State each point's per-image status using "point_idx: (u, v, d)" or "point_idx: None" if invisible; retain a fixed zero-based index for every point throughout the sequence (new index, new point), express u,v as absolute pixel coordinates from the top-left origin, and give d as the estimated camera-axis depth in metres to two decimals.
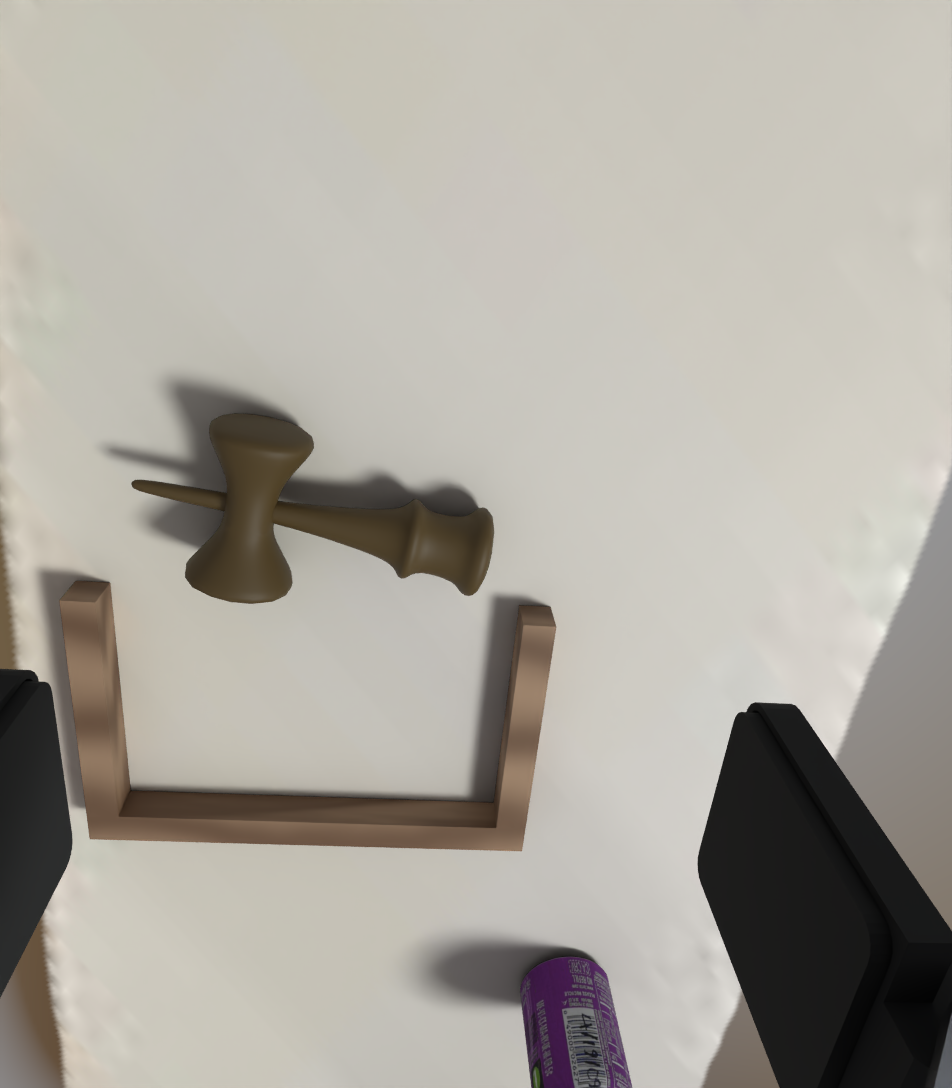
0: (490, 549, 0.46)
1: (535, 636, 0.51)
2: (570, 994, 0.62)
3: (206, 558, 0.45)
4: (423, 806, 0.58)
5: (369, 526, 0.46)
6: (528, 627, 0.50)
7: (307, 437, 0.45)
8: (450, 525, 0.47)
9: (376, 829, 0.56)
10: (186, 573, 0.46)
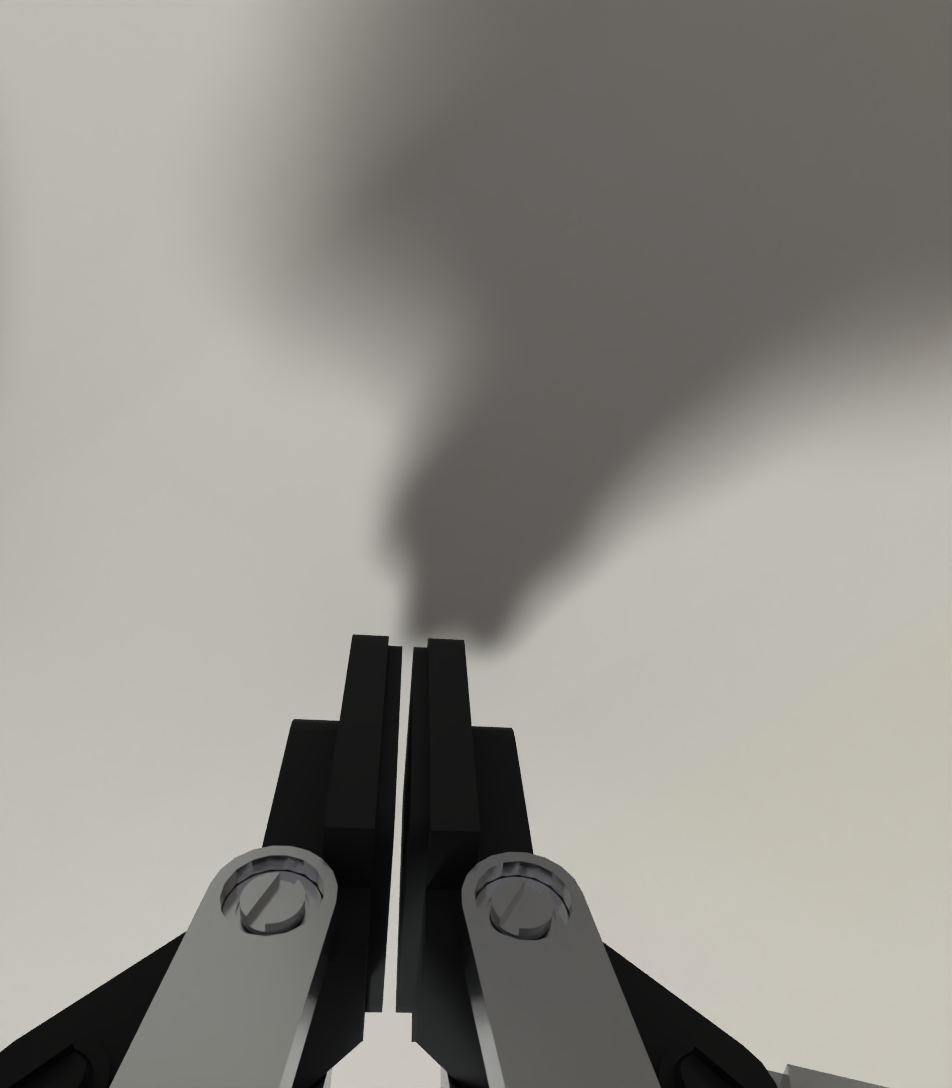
0: None
1: None
2: None
3: None
4: None
5: None
6: None
7: None
8: None
9: None
10: None
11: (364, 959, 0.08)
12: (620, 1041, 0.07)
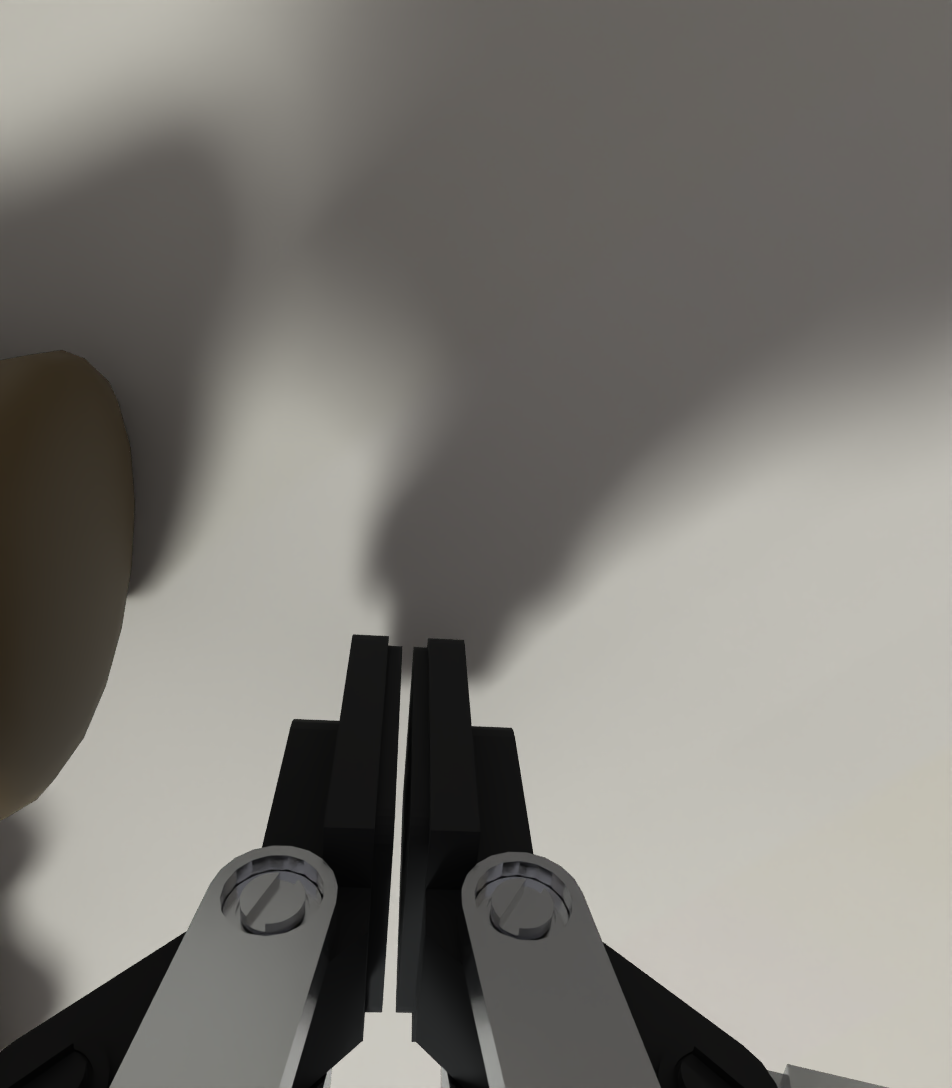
0: None
1: None
2: None
3: None
4: None
5: None
6: None
7: (87, 727, 0.11)
8: None
9: None
10: None
11: (364, 959, 0.08)
12: (620, 1041, 0.07)
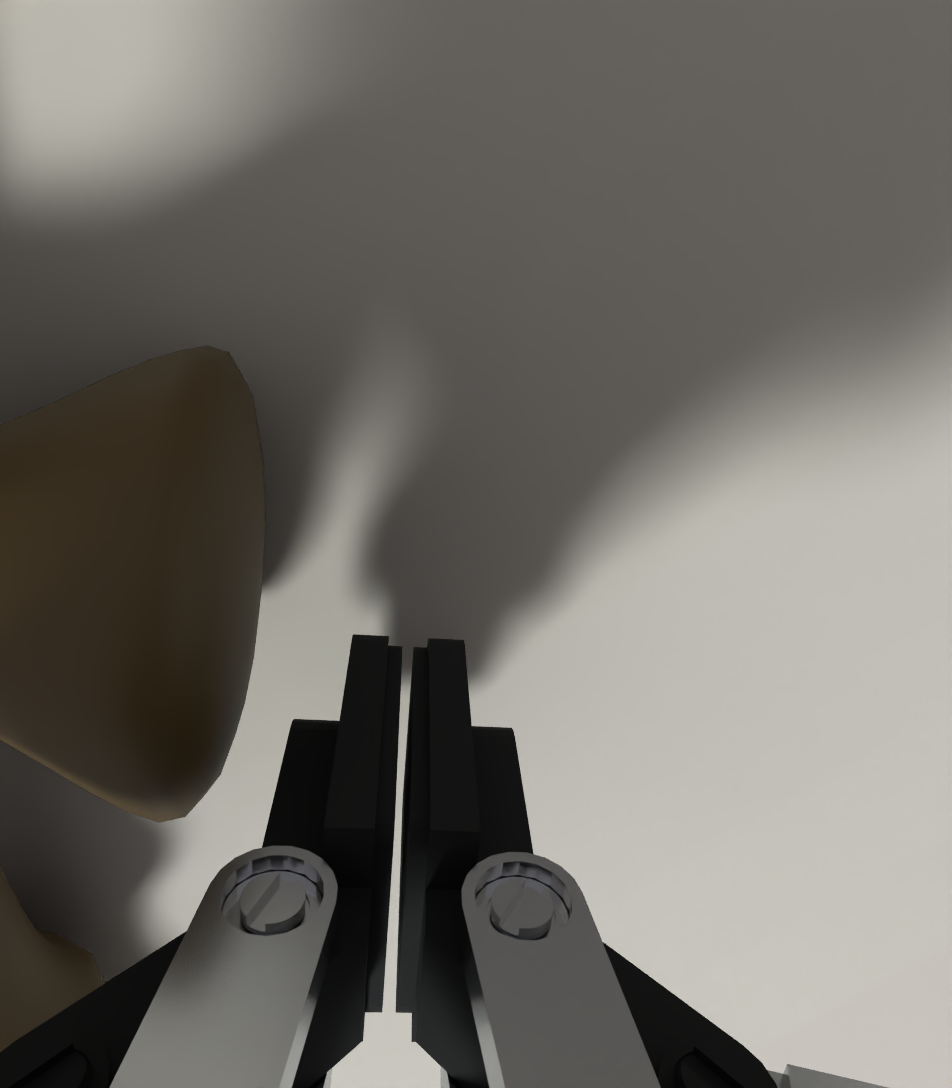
0: None
1: None
2: None
3: None
4: None
5: None
6: None
7: (237, 723, 0.11)
8: None
9: None
10: None
11: (364, 959, 0.08)
12: (620, 1041, 0.07)
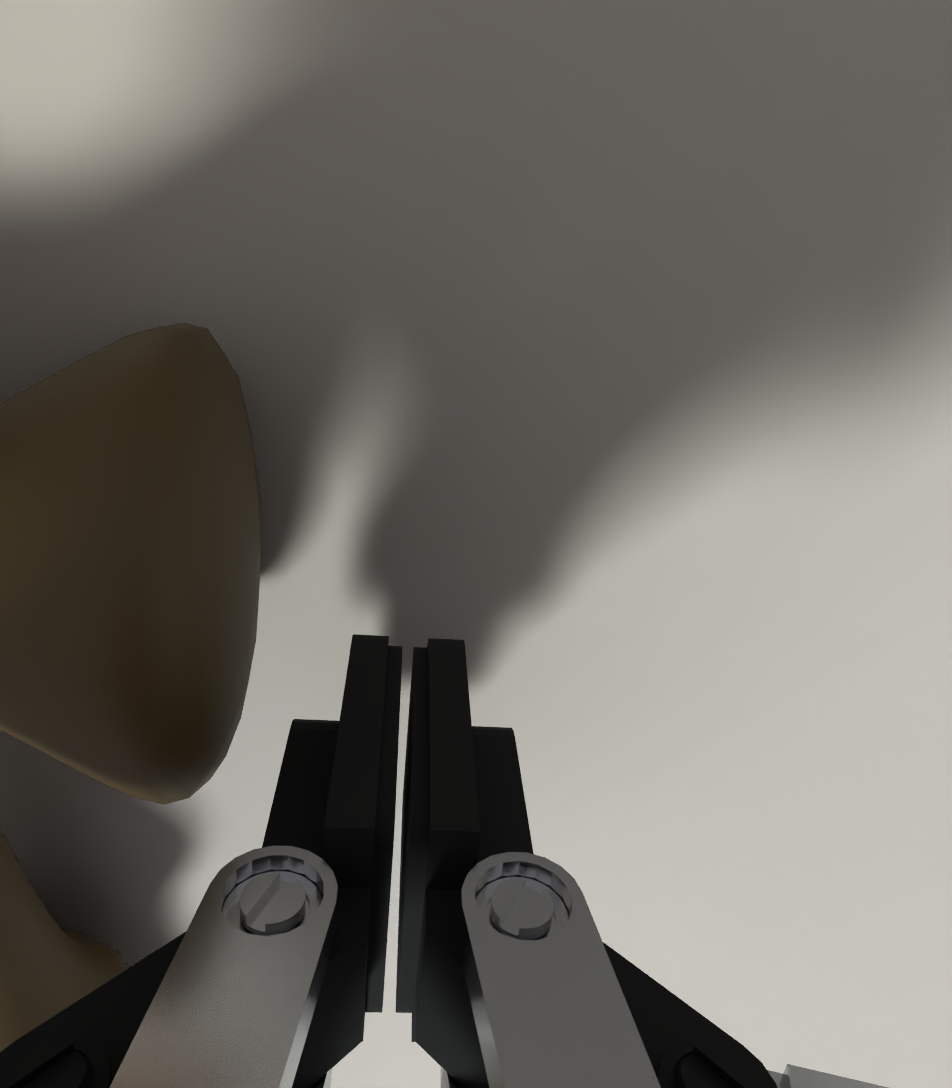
0: None
1: None
2: None
3: None
4: None
5: None
6: None
7: (242, 707, 0.11)
8: None
9: None
10: None
11: (364, 959, 0.08)
12: (620, 1041, 0.07)
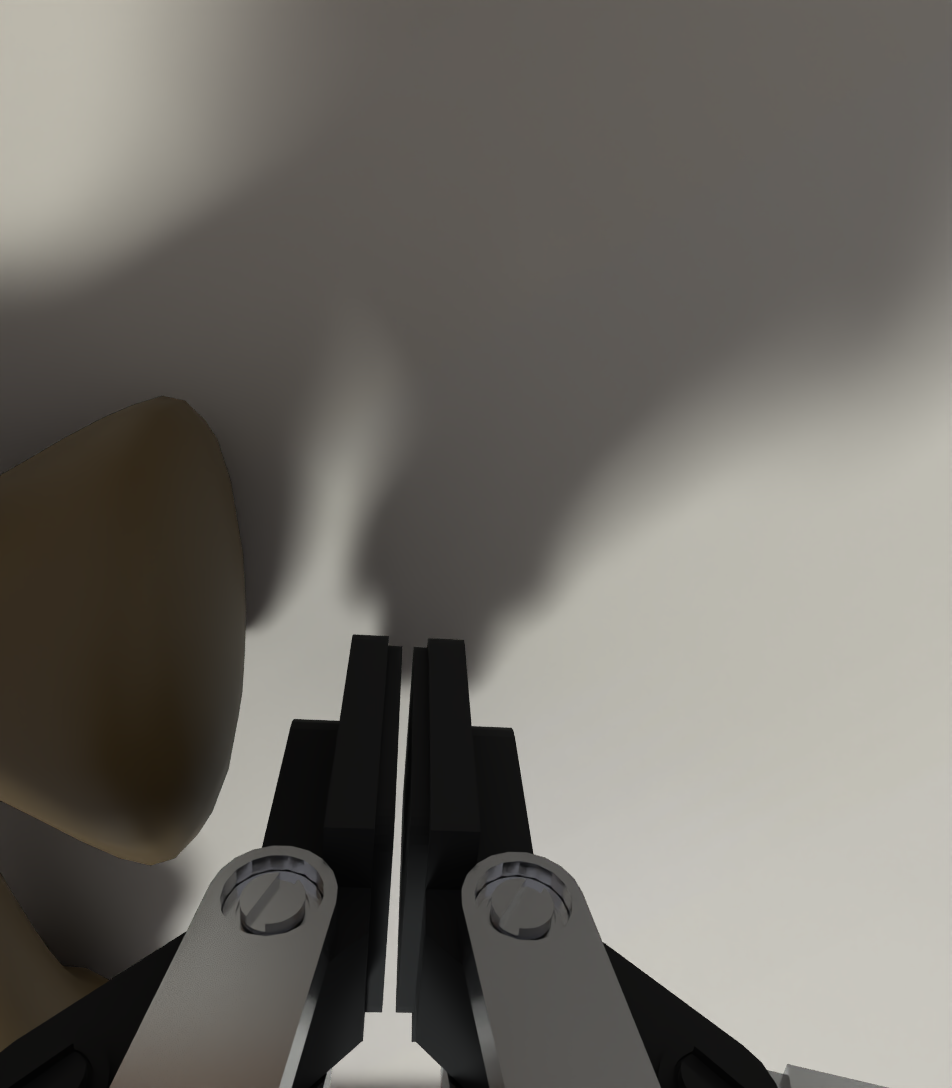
0: None
1: None
2: None
3: None
4: None
5: None
6: None
7: None
8: None
9: None
10: None
11: (364, 959, 0.08)
12: (620, 1041, 0.07)
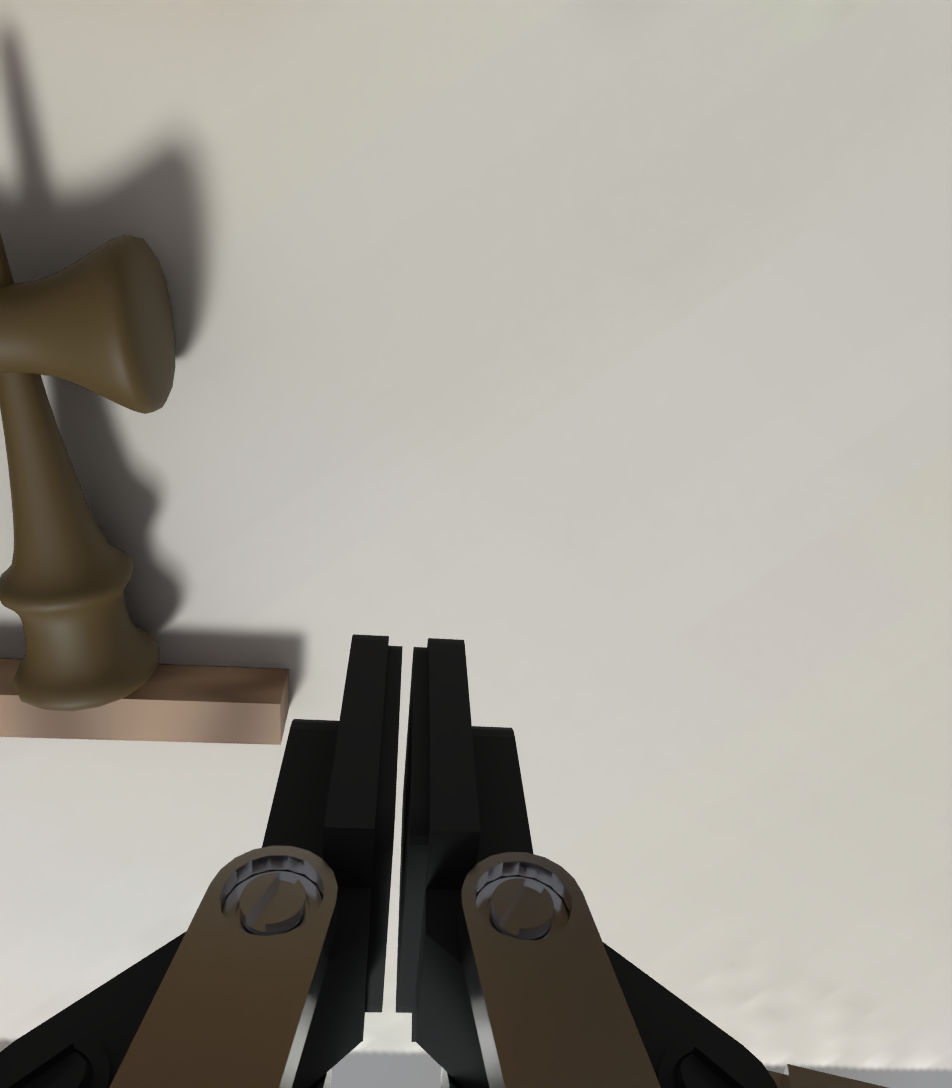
0: (105, 703, 0.31)
1: (261, 721, 0.33)
2: None
3: None
4: None
5: (62, 527, 0.28)
6: (277, 710, 0.33)
7: (167, 395, 0.28)
8: (116, 631, 0.31)
9: None
10: None
11: (364, 959, 0.08)
12: (620, 1041, 0.07)
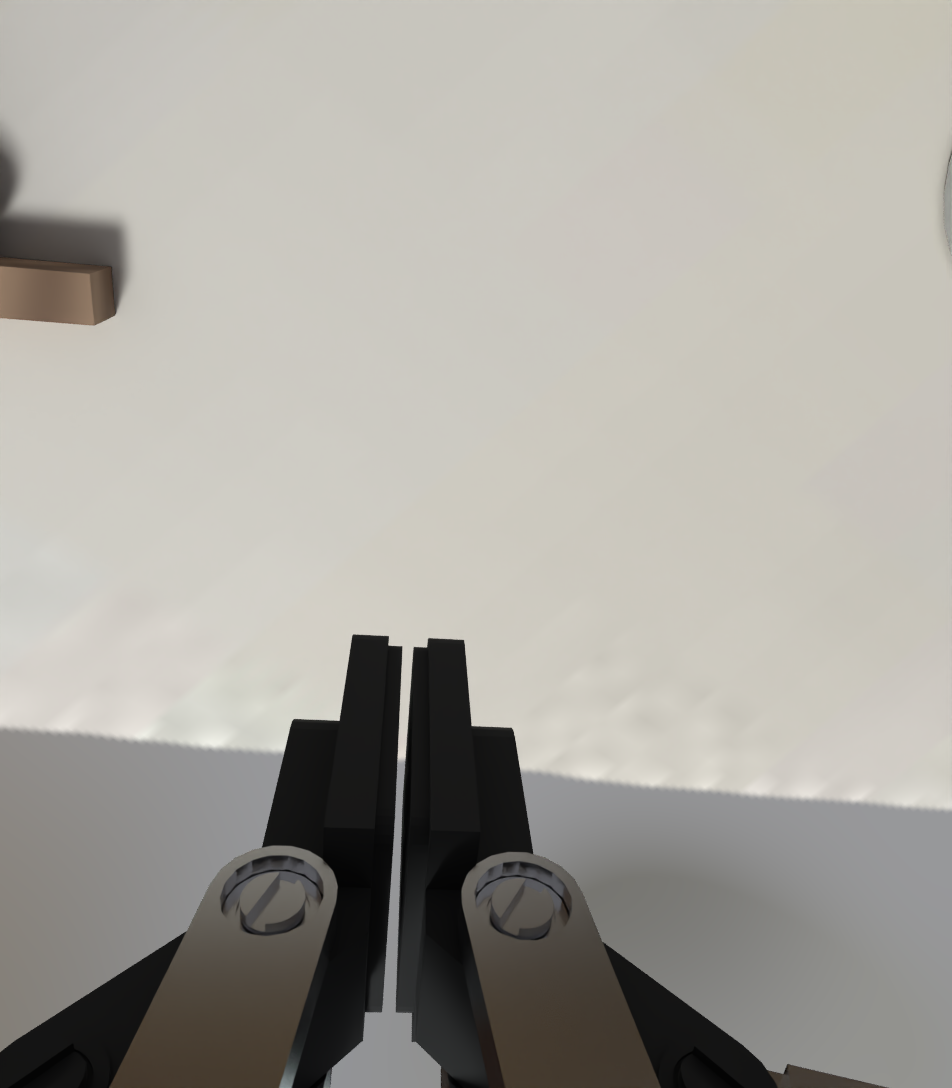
0: None
1: (71, 294, 0.33)
2: None
3: None
4: None
5: None
6: (87, 282, 0.33)
7: None
8: None
9: None
10: None
11: (364, 959, 0.08)
12: (620, 1041, 0.07)
